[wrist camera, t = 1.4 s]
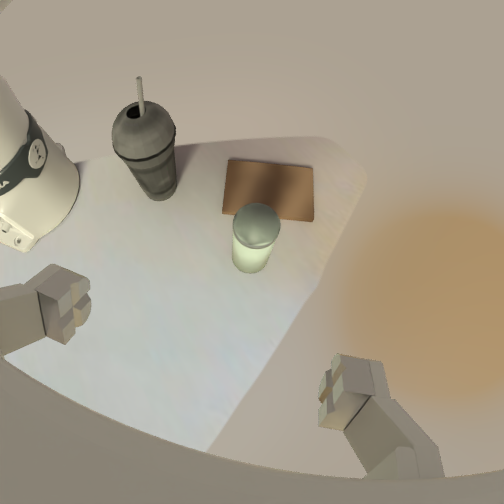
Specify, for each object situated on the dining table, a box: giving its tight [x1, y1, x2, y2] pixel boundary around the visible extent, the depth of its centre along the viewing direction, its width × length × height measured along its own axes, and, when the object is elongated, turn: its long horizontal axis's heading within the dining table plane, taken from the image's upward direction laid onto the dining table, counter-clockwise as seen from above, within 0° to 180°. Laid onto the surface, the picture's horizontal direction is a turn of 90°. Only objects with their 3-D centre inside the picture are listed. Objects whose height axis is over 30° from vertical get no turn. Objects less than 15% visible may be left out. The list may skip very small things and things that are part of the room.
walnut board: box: [222, 160, 314, 222], centre depth 43 cm, size 12×8×1 cm, turn 86°
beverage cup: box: [112, 76, 177, 201], centre depth 33 cm, size 7×7×20 cm
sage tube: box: [232, 203, 280, 274], centre depth 36 cm, size 5×5×10 cm
